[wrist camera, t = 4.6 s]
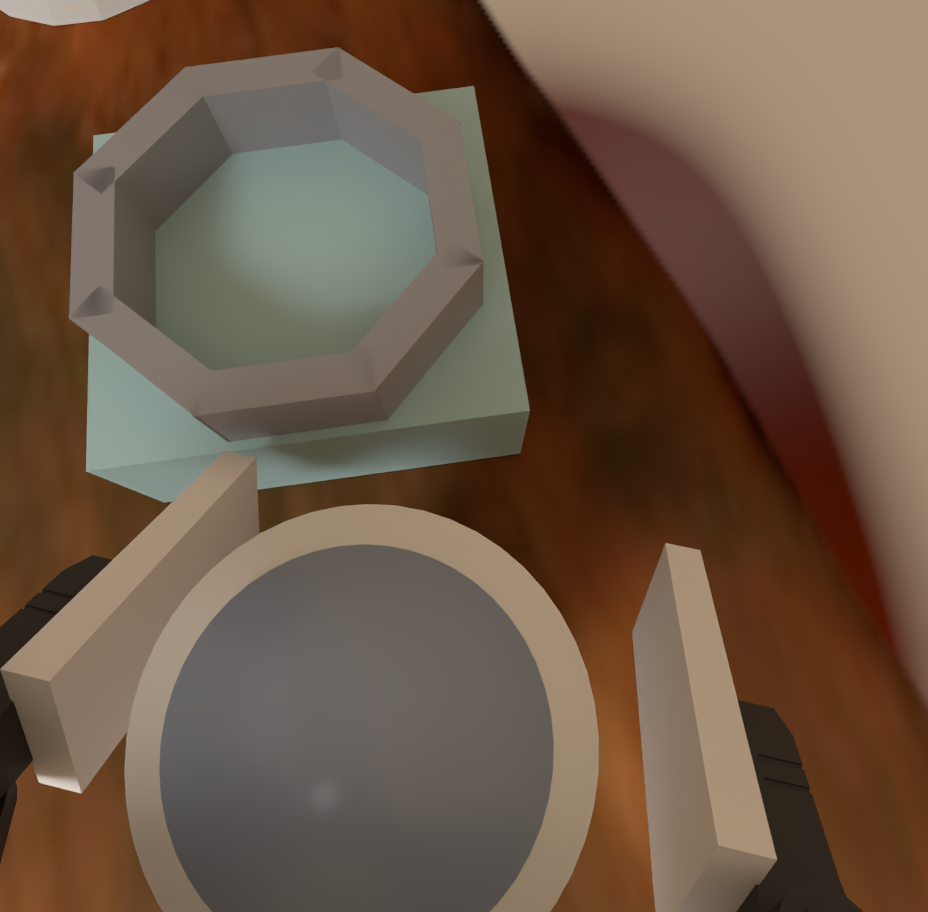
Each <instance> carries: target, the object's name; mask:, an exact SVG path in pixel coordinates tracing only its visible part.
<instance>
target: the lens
mask: <svg viewBox="0 0 928 912" xmlns="http://www.w3.org/2000/svg"><path fill="white" fill-rule="evenodd" d="M598 772H599V735H598V726H597V718H596V709H595V702H594V698H593V694H592V690H591V686H590V682H589V678H588V673H587V670H586V668H585V665H584V662H583V660H582V657H581V654H580V652H579V649H578V646H577V644H576V641H575V639H574V638H573V636H572V634H571V632H570V630H569V628H568V626H567V624H566V622H565V620H564V618H563V617H562V615H561V613H560V612H559V610H558V609H557V607H556V606H555V605H554V603H553V602H552V600H551V599H550V597H549V596H548V594H547V593H546V592H545V590H544V589H543V588H542V587H541V586H540V584H539V583H538V582H537V581H536V580H535V579H534V578H533V577H532V576H531V574H530V573H529V572H528V571H527V570H526V569H525V568H524V567H523V566H522V565H521V564H520V563H518V562H517V561H516V560H515V559H514V558H513V557H511V556H510V555H509V554H508V553H507V552H506V551H504V550H503V549H502V548H501V547H499V546H498V545H496V544H495V543H493V542H492V541H490V540H489V539H487V538H486V537H484V536H482V535H481V534H479V533H478V532H476V531H474V530H472V529H470V528H468V527H466V526H464V525H462V524H459V523H457V522H455V521H453V520H451V519H448V518H445V517H442V516H439V515H436V514H433V513H430V512H427V511H423V510H417V509H412V508H407V507H402V506H394V505H377V504H363V505H350V506H339V507H334V508H329V509H324V510H319V511H315V512H311V513H308V514H305V515H302V516H299V517H296V518H293V519H290V520H287V521H285V522H283V523H281V524H279V525H277V526H274V527H272V528H270V529H268V530H266V531H264V532H262V533H260V534H258V535H257V536H255V537H254V538H252V539H251V540H249V541H247V542H246V543H244V544H243V545H241V546H240V547H238V548H237V549H235V550H234V551H233V552H231V553H230V554H229V555H228V556H226V557H225V558H224V559H223V560H222V561H220V562H219V563H218V564H217V565H216V566H214V567H213V568H212V569H211V570H210V571H209V572H208V573H207V574H206V575H205V576H204V577H203V578H202V579H201V580H200V581H199V583H198V584H197V585H196V586H195V587H194V588H193V589H192V590H191V591H190V592H189V594H188V595H187V596H186V598H185V599H184V600H183V601H182V603H181V604H180V605H179V607H178V608H177V609H176V611H175V612H174V613H173V615H172V616H171V618H170V620H169V621H168V623H167V625H166V626H165V628H164V630H163V631H162V633H161V635H160V637H159V638H158V640H157V642H156V643H155V646H154V648H153V650H152V652H151V655H150V657H149V659H148V662H147V664H146V666H145V668H144V671H143V673H142V676H141V679H140V682H139V686H138V689H137V692H136V695H135V699H134V702H133V705H132V711H131V716H130V722H129V727H128V733H127V739H126V754H125V769H124V773H125V791H126V806H127V812H128V817H129V823H130V828H131V834H132V839H133V842H134V845H135V849H136V852H137V855H138V858H139V861H140V864H141V868H142V871H143V873H144V875H145V877H146V880H147V882H148V884H149V886H150V888H151V890H152V892H153V894H154V897H155V899H156V901H157V903H158V904H159V906H160V907H161V909H162V911H163V912H550V911H551V910H552V908H553V907H554V906H555V904H556V902H557V900H558V899H559V897H560V895H561V893H562V891H563V889H564V888H565V886H566V884H567V882H568V880H569V879H570V877H571V875H572V873H573V871H574V868H575V865H576V863H577V860H578V858H579V855H580V853H581V850H582V848H583V845H584V843H585V840H586V836H587V832H588V828H589V824H590V820H591V816H592V813H593V809H594V803H595V796H596V788H597V780H598Z"/></svg>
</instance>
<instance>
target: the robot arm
mask: <svg viewBox="0 0 928 912" xmlns="http://www.w3.org/2000/svg"><path fill="white" fill-rule="evenodd" d="M258 534H259V516H258V489H257V462H256V457H252V456H248V455H243V454H238V453H233V452H229V451H224V452H223V453H222V454H221V455H220V456H219V457H218V458H217V459H216V460H215V461H214V462H213V463H212V464H211V465H210V466H209V467H208V468H207V469H206V470H205V471H204V472H203V473H202V474H201V475H200V476H199V477H198V478H197V479H196V480H195V481H194V482H193V483H191V484H190V485H189V486H188V487H187V488H186V489H185V490H184V491H183V492H182V493H181V494H180V495H179V496H178V497H177V498H176V499H175V500H174V501H173V502H172V503H171V504H170V505H169V506H168V507H167V508H166V509H165V510H164V511H163V512H162V513H161V514H160V515H158V516H157V517H156V518H155V519H154V520H153V521H152V522H151V523H150V524H149V525H148V526H147V527H146V528H145V529H144V530H143V531H142V532H141V533H140V534H139V535H138V536H137V537H136V538H135V539H134V540H133V541H132V542H131V543H130V544H129V545H128V546H127V547H126V548H124V549H123V550H122V551H121V552H120V553H119V554H118V555H117V556H116V557H115V558H114V559H113V560H111V559H106V558H102V557H98V556H93V555H92V556H90V557H88V558H86V559H84V560H83V561H81V562H79V563H77V564H75V565H73V566H71V567H69V568H67V569H65V570H63V571H62V572H61V573H60V574H59V575H58V576H57V577H56V578H55V579H53V580H52V581H51V582H50V583H49V584H48V585H47V586H46V587H45V588H43V591H42V593H38V594H37V595H36V596H35V597H33V598H32V599H31V600H30V601H29V602H28V603H27V604H26V605H25V608H24V609H20V610H19V611H18V612H17V613H16V614H15V615H13V616H12V617H11V618H10V619H9V620H8V621H7V622H6V623H5V624H3V625H2V626H1V627H0V862H1V858H2V855H3V851H4V847H5V843H6V839H7V835H8V832H9V828H10V824H11V820H12V816H13V812H14V809H15V805H16V801H17V785H16V783H15V781H16V780H17V778H18V777H19V776H20V775H21V774H22V772H23V771H24V770H25V769H26V768H27V766H28V765H29V764H30V763H31V762H32V764H33V767H34V770H35V773H36V776H37V779H38V781H39V783H42V784H46V785H50V786H54V787H58V788H62V789H66V790H69V791H73V792H77V793H81V794H82V793H83V791H84V790H85V788H86V787H87V786H88V784H89V783H90V782H91V780H92V779H93V778H94V776H95V775H96V773H97V772H98V771H99V769H100V768H101V767H102V765H103V764H104V762H105V761H106V760H107V758H108V757H109V756H110V754H111V753H112V751H113V750H114V749H115V747H116V746H117V745H118V743H119V742H120V740H121V739H122V738H123V736H124V735H125V734H126V732H127V731H128V727H129V722H130V716H131V711H132V705H133V702H134V699H135V695H136V692H137V689H138V686H139V682H140V679H141V676H142V673H143V671H144V668H145V666H146V664H147V662H148V659H149V657H150V655H151V652H152V650H153V648H154V646H155V643H156V642H157V640H158V638H159V637H160V635H161V633H162V631H163V630H164V628H165V626H166V625H167V623H168V621H169V620H170V618H171V616H172V615H173V613H174V612H175V611H176V609H177V608H178V607H179V605H180V604H181V603H182V601H183V600H184V599H185V598H186V596H187V595H188V594H189V592H190V591H191V590H192V589H193V588H194V587H195V586H196V585H197V584H198V583H199V581H200V580H201V579H202V578H203V577H204V576H205V575H206V574H207V573H208V572H209V571H210V570H211V569H212V568H213V567H214V566H216V565H217V564H218V563H219V562H220V561H222V560H223V559H224V558H225V557H226V556H228V555H229V554H230V553H231V552H233V551H234V550H235V549H237V548H238V547H240V546H241V545H243V544H244V543H246V542H247V541H249V540H251V539H252V538H254V537H255V536H257V535H258ZM632 634H633V647H634V659H635V671H636V683H637V695H638V707H639V719H640V731H641V743H642V755H643V767H644V779H645V791H646V803H647V815H648V828H649V840H650V852H651V864H652V876H653V888H654V900H655V912H863V911H862V910H861V909H860V908H859V907H857V906H856V905H855V904H854V903H853V902H852V901H850V900H849V899H848V898H847V897H846V895H845V892H844V890H843V888H842V885H841V883H840V880H839V877H838V874H837V871H836V868H835V865H834V862H833V858H832V855H831V852H830V849H829V846H828V843H827V840H826V837H825V834H824V830H823V827H822V824H821V821H820V818H819V815H818V812H817V809H816V806H815V802H814V799H813V796H812V794H810V793H809V789H810V787H809V784H808V781H807V778H806V774H805V771H804V770H802V762H801V759H800V756H799V753H798V750H797V747H796V743H795V740H794V737H793V735H792V734H791V732H790V731H789V729H788V728H787V727H786V725H785V724H784V722H783V721H782V720H781V718H780V717H779V715H778V714H777V713H776V711H775V710H774V708H770V707H766V706H761V705H757V704H753V703H748V702H744V701H739V700H737V696H736V692H735V688H734V684H733V680H732V676H731V672H730V668H729V664H728V660H727V656H726V652H725V648H724V644H723V640H722V636H721V632H720V628H719V624H718V620H717V616H716V612H715V608H714V604H713V599H712V595H711V591H710V587H709V583H708V579H707V575H706V571H705V567H704V563H703V559H702V555H701V551H700V550H697V549H692V548H687V547H682V546H678V545H673V544H668V543H665V546H664V548H663V551H662V554H661V556H660V559H659V562H658V564H657V567H656V570H655V572H654V575H653V578H652V580H651V583H650V586H649V588H648V591H647V594H646V596H645V599H644V602H643V604H642V607H641V610H640V613H639V615H638V618H637V621H636V623H635V626H634V629H633V631H632Z"/></svg>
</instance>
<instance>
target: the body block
mask: <svg viewBox="0 0 928 912" xmlns="http://www.w3.org/2000/svg"><path fill="white" fill-rule="evenodd" d="M73 174H74V185H73V216H72V247H71V279H70V310H69V319H70V320H71V321H73V322H74V323H75V324H77V325H78V326H79V327H81V328H82V329H83V330H85V331H86V332H87V333H89V361H88V406H87V450H86V471H87V472H89V473H92V474H94V475H97V476H99V477H102V478H104V479H107V480H109V481H112V482H114V483H117V484H119V485H122V486H124V487H127V488H129V489H132V490H134V491H137V492H139V493H142V494H144V495H147V496H149V497H152V498H154V499H157V500H159V501H162V502H172V501H174V500H175V499H176V498H177V497H178V496H179V495H180V494H181V493H182V492H183V491H184V490H185V489H186V488H187V487H188V486H189V485H190V484H191V483H193V482H194V481H195V480H196V479H197V478H198V477H199V476H200V475H201V474H202V473H203V472H204V471H205V470H206V469H207V468H208V467H209V466H210V465H211V464H212V463H213V462H214V461H215V460H216V459H217V458H218V457H219V456H220V455H221V454H222V453H223V452H224V451H229V452H233V453H238V454H243V455H248V456H252V457H256V462H257V489H258V490H259V489H266V488H273V487H281V486H288V485H295V484H303V483H310V482H317V481H324V480H332V479H339V478H346V477H353V476H361V475H368V474H375V473H383V472H390V471H397V470H404V469H412V468H419V467H426V466H433V465H441V464H448V463H455V462H463V461H470V460H477V459H484V458H492V457H499V456H506V455H513V454H520V452H521V448H522V443H523V439H524V435H525V430H526V426H527V421H528V417H529V413H530V408H529V402H528V396H527V390H526V385H525V379H524V373H523V367H522V362H521V356H520V350H519V344H518V338H517V333H516V327H515V321H514V315H513V309H512V304H511V298H510V292H509V286H508V280H507V275H506V269H505V263H504V257H503V251H502V246H501V240H500V234H499V228H498V222H497V217H496V211H495V205H494V199H493V194H492V188H491V182H490V176H489V170H488V165H487V159H486V153H485V147H484V141H483V136H482V130H481V124H480V118H479V112H478V107H477V101H476V95H475V89H474V86H469V87H462V88H454V89H446V90H439V91H431V92H423V93H416V94H414V93H412V92H410V91H409V90H407V89H405V88H404V87H402V86H400V85H399V84H397V83H396V82H394V81H392V80H391V79H389V78H387V77H386V76H384V75H382V74H381V73H379V72H378V71H376V70H374V69H373V68H371V67H369V66H368V65H366V64H364V63H363V62H361V61H360V60H358V59H356V58H355V57H353V56H351V55H350V54H348V53H347V52H345V51H343V50H342V49H340V48H339V47H336V48H329V49H322V50H314V51H306V52H298V53H291V54H283V55H275V56H268V57H260V58H252V59H244V60H237V61H229V62H221V63H214V64H206V65H198V66H190V67H187V66H186V67H184V69H183V70H182V71H181V72H180V73H179V74H178V75H177V76H175V77H174V78H173V79H172V80H171V81H170V82H169V83H168V84H167V85H166V86H165V87H164V88H163V89H162V90H161V91H160V92H159V93H158V94H156V95H155V96H154V97H153V98H152V99H151V100H150V101H149V102H148V103H147V104H146V105H145V106H144V107H143V108H142V109H141V110H140V111H138V112H137V113H136V114H135V115H134V116H133V117H132V118H131V119H130V120H129V121H128V122H127V123H126V124H125V125H124V126H123V127H122V128H121V129H119V130H118V131H117V132H116V133H110V134H102V135H94V141H93V155H92V156H91V157H90V158H89V159H88V160H87V161H86V162H85V163H84V164H82V165H81V166H80V167H79V168H78V169H77V170H76V171H74V173H73Z"/></svg>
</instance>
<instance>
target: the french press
mask: <svg viewBox="0 0 928 912" xmlns="http://www.w3.org/2000/svg"><path fill="white" fill-rule="evenodd" d="M147 1H149V0H0V10H2V11H3V12H4V13H6V14H7V15H9V16H11V17H15V18H20V19H25V20H29V21H34V22H39V23H43V24H48V25H52V26H57V25H66V24H75V23H83V22H92V21H101V20H105V19H108V18H110V17H112V16H115V15H117V14H119V13H122V12H124V11H126V10H129V9H131V8H133V7H136V6H138V5H140V4H143V3H145V2H147Z"/></svg>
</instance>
